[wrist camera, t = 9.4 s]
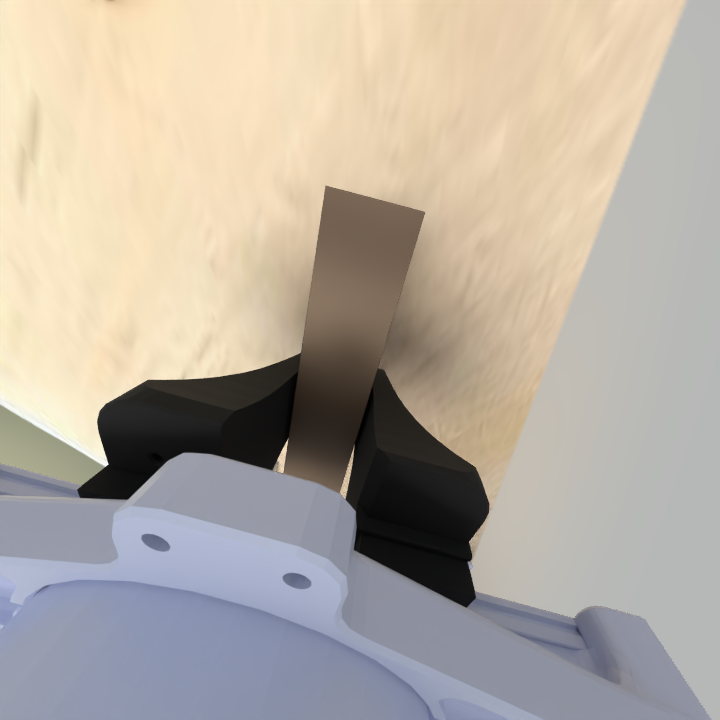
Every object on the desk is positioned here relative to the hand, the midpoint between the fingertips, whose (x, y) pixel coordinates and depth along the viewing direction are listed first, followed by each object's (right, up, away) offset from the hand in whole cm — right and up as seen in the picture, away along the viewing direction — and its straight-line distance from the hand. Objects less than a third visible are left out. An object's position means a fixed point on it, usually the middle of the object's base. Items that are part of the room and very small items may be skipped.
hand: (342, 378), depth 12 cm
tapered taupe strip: (0, +1, +2) cm, 3 cm away
